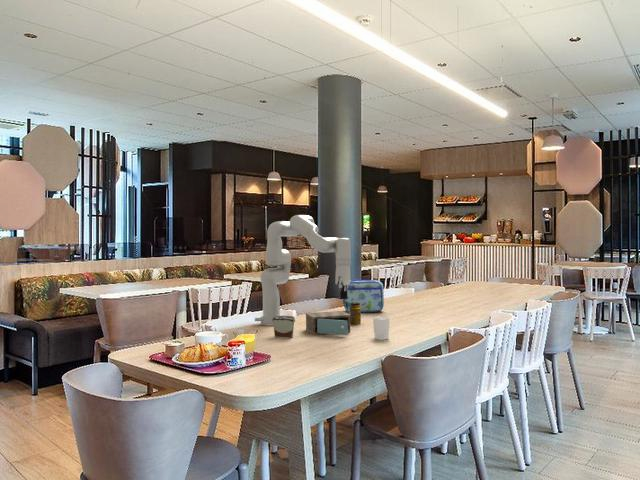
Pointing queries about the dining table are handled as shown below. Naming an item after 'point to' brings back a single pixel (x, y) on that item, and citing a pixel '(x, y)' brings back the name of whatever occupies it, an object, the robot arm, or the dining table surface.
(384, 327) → the white cup
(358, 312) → the condiment
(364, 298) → the lunch box
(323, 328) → the door
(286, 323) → the food container
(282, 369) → the dining table surface
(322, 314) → the bread box
